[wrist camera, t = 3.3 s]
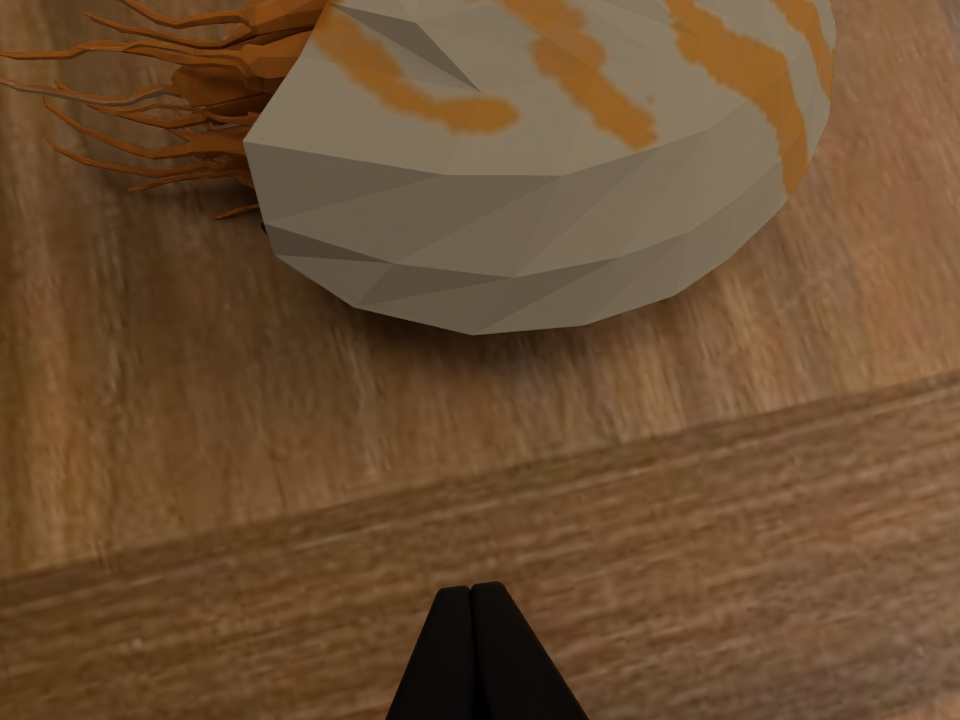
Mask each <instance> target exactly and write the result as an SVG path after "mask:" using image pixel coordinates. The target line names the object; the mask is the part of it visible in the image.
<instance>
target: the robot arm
mask: <svg viewBox="0 0 960 720" xmlns="http://www.w3.org/2000/svg"><path fill="white" fill-rule="evenodd" d="M385 720H589V719H588V717H587V715H586V714H585V712H584V711H583V709H582V708H581V706H580V704H579V703H578V701H577V700H576V698H575V697H574V695H573V693H572V692H571V690H570V689H569V687H568V685H567V684H566V682H565V681H564V679H563V678H562V676H561V674H560V673H559V671H558V670H557V668H556V667H555V665H554V663H553V662H552V660H551V659H550V657H549V656H548V654H547V652H546V651H545V649H544V648H543V646H542V645H541V643H540V641H539V640H538V638H537V637H536V635H535V634H534V632H533V630H532V629H531V627H530V626H529V624H528V623H527V621H526V619H525V618H524V616H523V615H522V613H521V611H520V610H519V608H518V607H517V605H516V604H515V602H514V600H513V599H512V597H511V596H510V594H509V593H508V591H507V589H506V588H505V586H504V585H503V584H502V583H501V582H498V581H495V582H487V583H479V584H474V585H473V586H472V587H471V591H470V589H469V587H467V586H465V585H463V586H455V587H447V588H442V589H440V590H439V591H438V592H437V594H436V596H435V599H434V601H433V603H432V606H431V608H430V611H429V613H428V616H427V618H426V621H425V623H424V626H423V628H422V630H421V633H420V635H419V638H418V640H417V643H416V645H415V648H414V650H413V653H412V655H411V657H410V660H409V662H408V665H407V667H406V670H405V672H404V675H403V677H402V680H401V682H400V684H399V687H398V689H397V692H396V694H395V697H394V699H393V702H392V704H391V707H390V709H389V712H388V714H387V716H386V719H385Z"/></svg>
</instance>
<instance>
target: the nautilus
mask: <svg viewBox="0 0 960 720" xmlns="http://www.w3.org/2000/svg"><path fill="white" fill-rule="evenodd" d="M119 1H120V2H122V3H124V4H125V5H127V6H128V7H130V8H132V9H133V10H135V11H136V12H138V13H140V14H141V15H143V16H144V17H146V18H148V19H149V20H151V21H152V22H154V23H156V24H159V25H163V26H167V27H171V28H175V29H183V28H189V27H195V26H200V25H209V24H225V23H226V27H225V31H224V35H223V39H222V40H223V41H201V40H196V39H191V38H187V37H182V36H177V35H173V34H168V33H163V32H159V31H154V30H149V29H145V28H140V27H129V26H124V25H122V24H119V23H117V22H115V21H111V20H106V19H102V18H98V17H95V16H93V15H92V14H91V13H90V12H85V13H86V14H87V15H88V16H89V17H90V19H91V20H92V21H93V22H96V23H99V24H103V25H106V26H109V27H112V28H114V29H116V30H118V31H120V32H123V33H131V34H138V35H142V36H146V37H150V38H154V39H158V40H163V41H167V42H171V43H175V44H179V45H175V44H170V43H165V42H160V41H155V40H150V39H144V40H135V41H133V42H131V43H123V42H116V41H109V40H99V41H93V42H86V43H84V44H82V45H73V46H72V47H74V48H73V49H70V50H68V51H47V52H22V53H12V52H3V51H0V55H1V56H4V57H8V58H12V59H16V60H56V59H72V58H74V57H76V56H79V55H81V54H83V53H86V52H88V51H118V52H124V53H130V54H136V55H142V56H148V57H154V58H158V59H161V60H165V61H169V62H172V63H176V64H180V65H183V66H182V67H180V68H179V69H178V70H177V71H175V72H174V73H173V75H172V77H171V80H172V82H173V85H167V84H158V85H154V86H149V87H145V88H143V89H141V90H139V91H138V92H136V93H134V94H133V95H131V96H129V97H103V96H97V95H91V94H85V93H79V92H74V91H72V90H70V89H68V88H66V87H64V86H62V85H61V84H60V83H59V82H58V81H57V80H56V79H55V84H56V86H57V87H58V89H56V88H50V87H44V86H36V85H24V84H21V83H19V82H16V81H13V80H10V79H5V78H0V84H3V85H6V86H9V87H11V88H13V89H16V90H18V91H20V92H31V93H39V94H44V95H49V96H54V97H59V98H64V99H69V100H74V101H79V102H82V103H84V104H85V105H87V106H89V107H91V108H93V109H96V110H99V111H101V112H100V113H105V114H110V115H116V116H119V117H123V118H126V119H129V120H133V121H136V122H140V123H143V124H146V125H151V126H156V127H161V128H165V129H166V130H168V131H170V132H172V133H173V134H175V135H177V136H179V137H180V138H182V139H184V140H186V141H189V142H187V143H186V144H184V145H177V146H171V147H166V148H162V149H157V150H149V149H145V148H142V147H138V146H134V145H131V144H128V143H126V142H123V141H121V140H118V139H116V138H113V137H110V136H108V135H105V134H103V133H100V132H98V131H95V130H93V129H90V128H87V127H85V126H82V125H80V124H78V123H77V122H75V121H74V120H72V119H71V118H69V117H68V116H67V115H65V114H64V113H62V112H61V111H59V110H58V109H56V108H55V107H53V106H52V105H50V104H49V103H48V101H47V100H46V99H45V97H43V102H44V104H45V107H46V108H48V109H49V110H50V111H51V112H53V113H54V114H55V115H57V116H58V117H59V118H60V119H62V120H63V121H64V122H66V123H67V124H68V125H70V126H71V127H73V128H75V129H76V130H78V131H80V132H82V133H84V134H87V135H89V136H91V137H94V138H96V139H98V140H101V141H103V142H105V143H108V144H110V145H112V146H115V147H117V148H119V149H122V150H124V151H126V152H129V153H132V154H135V155H139V156H142V157H146V158H150V159H153V160H156V159H167V158H177V157H185V156H194V157H196V158H197V159H202V161H194V162H193V163H191V164H189V165H186V166H182V167H178V168H171V169H164V170H152V169H146V168H140V167H134V166H128V165H122V164H116V163H110V162H104V161H98V160H92V159H88V158H85V157H82V156H79V155H77V154H74V153H72V152H69V151H67V150H64V149H61V148H59V147H57V146H56V145H55V144H53V143H52V142H51V141H50V140H46V141H47V142H48V143H49V144H50V146H51V147H52V148H53V149H54V150H56V151H58V152H60V153H62V154H64V155H66V156H67V157H69V158H71V159H74V160H76V161H78V162H80V163H82V164H84V165H89V166H93V167H98V168H102V169H106V170H111V171H117V172H122V173H128V174H133V175H139V176H144V177H150V178H156V179H157V178H163V179H160V180H157V181H154V182H150V183H147V184H144V185H141V186H138V187H131V188H128V189H129V191H143V190H147V189H150V188H154V187H157V186H161V185H164V184H169V183H172V182H177V181H185V180H193V179H214V178H219V177H228V176H234V177H235V178H237V179H238V180H239V181H240V182H241V183H243V184H244V185H245V186H247V187H250V188H253V189H255V191H256V195H257V199H258V203H259V204H253V205H248V206H244V207H241V208H237V209H234V210H232V211H230V212H227V213H225V214H222V215H220V216H212V217H213V219H220V218H223V217H226V216H228V215H231V214H234V213H237V212H240V211H244V210H248V209H252V208H259V207H260V210H261V214H262V218H263V222H262V224H261V227H262V229H263V230H264V232H265V233H266V234H267V236H268V238H269V241H270V244H271V247H272V250H273V253H274V255H275V256H276V257H278V258H279V259H280V260H282V261H283V262H284V263H285V264H287V265H288V266H289V267H290V268H292V269H293V270H294V271H296V272H297V273H298V274H299V275H301V276H302V277H304V278H307V279H310V280H313V281H315V282H316V283H318V284H319V285H321V286H322V287H324V288H325V289H327V290H328V291H330V292H331V293H333V294H334V295H336V296H337V297H339V298H340V299H342V300H343V301H345V302H346V303H348V304H349V305H351V306H352V307H354V308H359V309H363V310H367V311H371V312H376V313H380V314H384V315H388V316H393V317H397V318H401V319H405V320H410V321H414V322H418V323H422V324H427V325H431V326H435V327H439V328H444V329H448V330H452V331H456V332H461V333H465V334H469V335H480V334H492V333H503V332H515V331H526V330H538V329H549V328H561V327H572V326H583V325H587V324H590V323H593V322H596V321H599V320H602V319H605V318H608V317H611V316H614V315H617V314H620V313H623V312H626V311H629V310H632V309H636V308H639V307H642V306H645V305H648V304H651V303H654V302H657V301H660V300H663V299H666V298H669V297H672V296H675V295H676V294H678V293H679V292H681V291H682V290H684V289H685V288H687V287H688V286H690V285H691V284H692V283H694V282H695V281H697V280H698V279H700V278H701V277H703V276H704V275H706V274H707V273H709V272H710V271H712V270H713V269H715V268H716V267H718V266H719V265H721V264H722V263H724V262H725V261H727V260H728V259H729V258H730V257H731V256H732V255H733V254H734V253H735V252H736V251H738V250H739V249H740V248H741V247H742V246H743V245H744V244H745V243H746V242H747V241H748V240H749V239H750V238H751V237H752V236H753V235H754V234H755V233H756V232H757V231H759V230H760V229H761V228H762V227H763V226H764V225H765V224H766V223H767V222H768V221H769V220H770V219H771V218H772V217H773V216H774V215H775V214H776V213H777V212H778V211H779V210H781V208H782V207H783V205H784V204H785V203H786V201H787V200H788V198H789V197H790V195H791V194H792V192H793V191H794V189H795V188H796V187H797V185H798V184H799V182H800V181H801V179H802V178H803V176H804V175H805V174H806V171H807V169H808V167H809V164H810V162H811V159H812V157H813V154H814V152H815V150H816V147H817V145H818V142H819V140H820V138H821V135H822V133H823V130H824V128H825V126H826V123H827V121H828V118H829V111H830V100H831V89H832V77H833V66H834V54H835V43H836V32H837V31H836V26H835V22H834V17H833V12H832V7H831V3H830V0H248V1H247V2H246V3H245V4H244V5H243V6H242V7H241V8H240V9H239V10H219V11H214V12H209V13H204V14H199V15H194V16H190V17H186V18H183V19H180V20H177V19H173V18H170V17H166V16H163V15H160V14H158V13H157V12H155V11H153V10H151V9H150V8H148V7H146V6H144V5H143V4H141V3H139V2H137V1H136V0H119ZM180 45H183V46H180ZM185 46H187V47H185ZM189 47H192V48H189ZM193 48H196V49H193ZM162 49H163V50H162ZM165 50H169V51H175V52H181V53H185V54H189V55H193V56H188V55H183V54H178V53H172V52H168V51H165ZM207 50H209V51H207ZM163 94H167V95H171V96H175V97H180V98H184V99H186V100H187V101H188V102H189V106H187V105H173V104H158V103H157V104H152V105H147V106H142V107H136V108H130V109H124V110H122V109H119V108H115V107H111V106H129V105H132V104H134V103H136V102H138V101H141V100H143V99H146V98H151V97H156V96H160V95H163ZM194 106H207V107H206V108H205V109H203V110H202V109H199V108H197V107H194ZM153 108H165V109H172V110H173V113H174V117H175V118H176V119H173V120H170V121H168V120H163V119H158V118H156V117H154V118H153V117H148V116H144V115H141V114H137V113H136V112H143V111H147V110H150V109H153ZM176 110H187V111H191V112H192V113H193V114H191V115H187V116H183V117H179V116H178V113H177V111H176ZM210 122H211V123H212V124H213V125H224V124H228V123H233V124H244V125H240V126H235V127H229V128H224V129H218V130H214V129H213V128H212V127H211V125H210V124H209V123H210ZM201 124H203V125H204V126H205V127H206V128H207V129H208V131H207V132H201V133H196V134H194V133H193V131H192V130H191V129H190V128H189V127H190V126H196V125H201ZM178 128H183V129H184V130H185V131H186V133H187V134H188V135H187V134H185V133H182V132H180V131H178V130H176V129H178ZM223 155H229V157H227V158H226V159H223V158H221V157H220V156H223ZM209 158H212V159H214V160H215V161H216V162H211V161H205V160H204V159H209ZM207 169H208V170H210V171H212V172H203V173H193V174H187V173H192V172H197V171H202V170H207ZM182 174H184V175H182ZM164 177H166V178H164ZM249 179H250V180H249Z"/></svg>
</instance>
